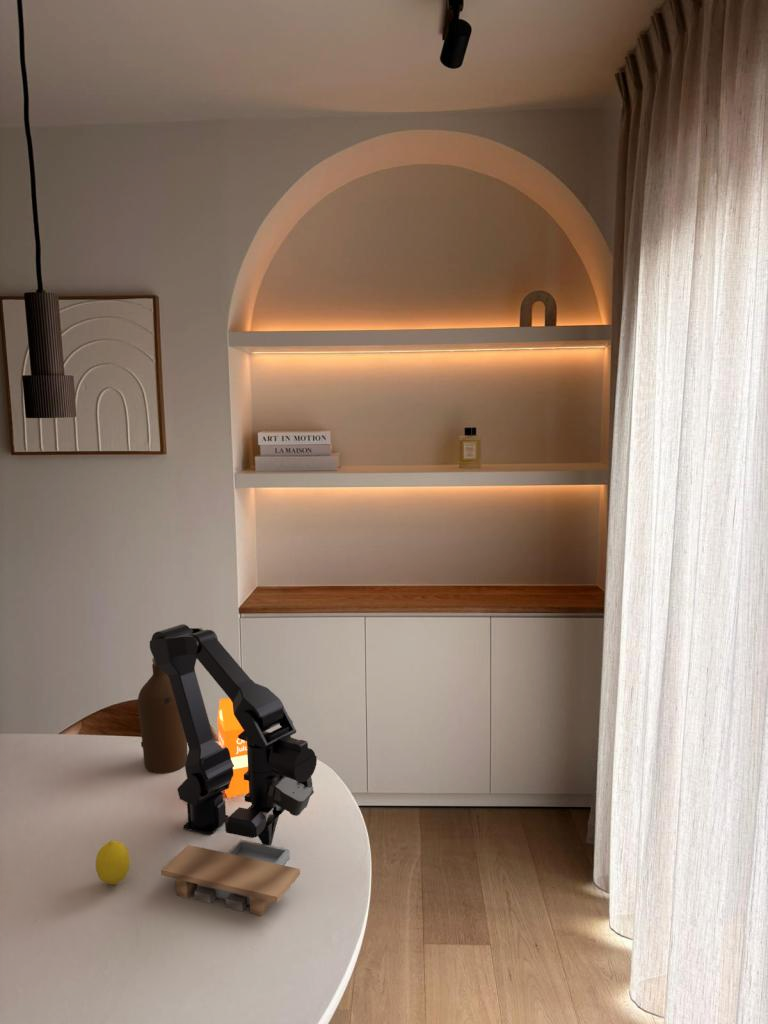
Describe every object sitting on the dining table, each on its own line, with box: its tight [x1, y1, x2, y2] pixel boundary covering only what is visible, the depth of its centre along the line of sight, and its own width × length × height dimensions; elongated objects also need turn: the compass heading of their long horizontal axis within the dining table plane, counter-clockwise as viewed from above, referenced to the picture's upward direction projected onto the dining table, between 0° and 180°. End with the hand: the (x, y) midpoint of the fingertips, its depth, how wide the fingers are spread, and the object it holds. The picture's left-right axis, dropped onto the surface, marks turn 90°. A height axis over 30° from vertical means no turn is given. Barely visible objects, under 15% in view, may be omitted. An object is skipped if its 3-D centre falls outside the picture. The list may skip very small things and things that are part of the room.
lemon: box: [95, 840, 131, 886], centre depth 138 cm, size 6×6×8 cm
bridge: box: [160, 844, 301, 917], centre depth 136 cm, size 22×8×4 cm, turn 69°
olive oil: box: [137, 657, 188, 774], centre depth 181 cm, size 11×11×25 cm
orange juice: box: [216, 697, 249, 798], centre depth 171 cm, size 8×9×20 cm
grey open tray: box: [198, 839, 290, 906], centre depth 140 cm, size 10×14×2 cm
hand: (267, 846), depth 147 cm, fingers closed
